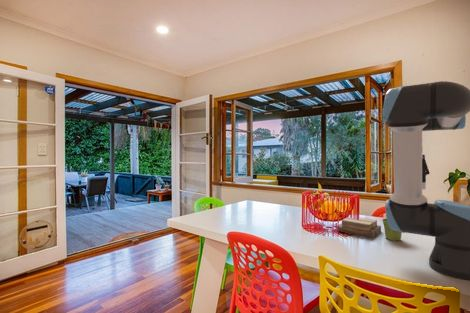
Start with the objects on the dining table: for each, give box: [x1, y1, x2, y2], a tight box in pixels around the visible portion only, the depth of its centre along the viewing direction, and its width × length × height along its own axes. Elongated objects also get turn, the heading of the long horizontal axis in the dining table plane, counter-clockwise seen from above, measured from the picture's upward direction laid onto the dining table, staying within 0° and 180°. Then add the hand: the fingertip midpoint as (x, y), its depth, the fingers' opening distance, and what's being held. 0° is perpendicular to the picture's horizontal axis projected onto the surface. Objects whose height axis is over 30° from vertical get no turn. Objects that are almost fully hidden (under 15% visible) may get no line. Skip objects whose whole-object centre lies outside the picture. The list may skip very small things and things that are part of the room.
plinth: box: [337, 216, 382, 240], centre depth 132 cm, size 16×16×6 cm
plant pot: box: [381, 218, 403, 242], centre depth 121 cm, size 9×9×9 cm
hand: (413, 187), depth 126 cm, fingers open, 13 cm apart
